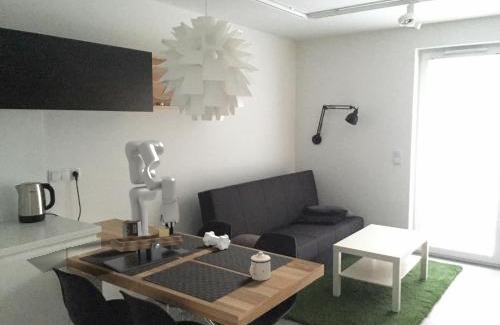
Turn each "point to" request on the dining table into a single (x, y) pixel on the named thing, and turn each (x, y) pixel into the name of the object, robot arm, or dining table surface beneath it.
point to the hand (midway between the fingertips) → (170, 234)
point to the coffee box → (132, 228)
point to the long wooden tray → (145, 242)
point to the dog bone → (216, 240)
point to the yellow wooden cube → (160, 232)
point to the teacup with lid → (260, 267)
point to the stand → (145, 257)
